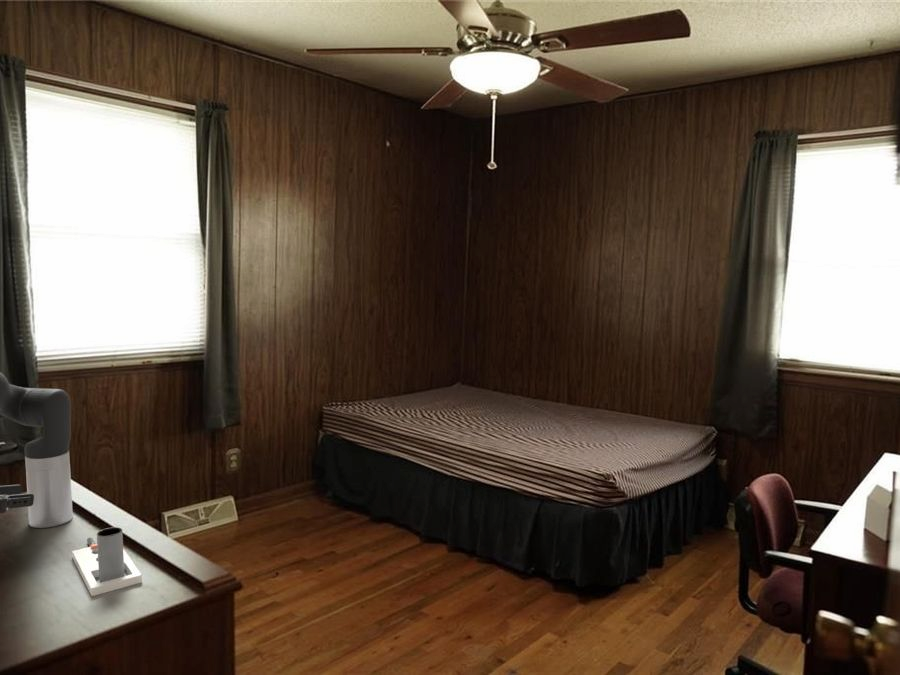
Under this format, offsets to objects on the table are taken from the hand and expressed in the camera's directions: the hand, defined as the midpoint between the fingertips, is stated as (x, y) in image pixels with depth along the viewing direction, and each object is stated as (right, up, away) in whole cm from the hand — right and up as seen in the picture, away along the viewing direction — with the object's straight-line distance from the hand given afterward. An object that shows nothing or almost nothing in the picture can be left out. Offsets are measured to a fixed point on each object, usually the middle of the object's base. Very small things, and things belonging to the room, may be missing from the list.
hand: (27, 494), depth 120 cm
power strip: (+4, -19, +18) cm, 27 cm away
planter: (+10, -20, +11) cm, 25 cm away
